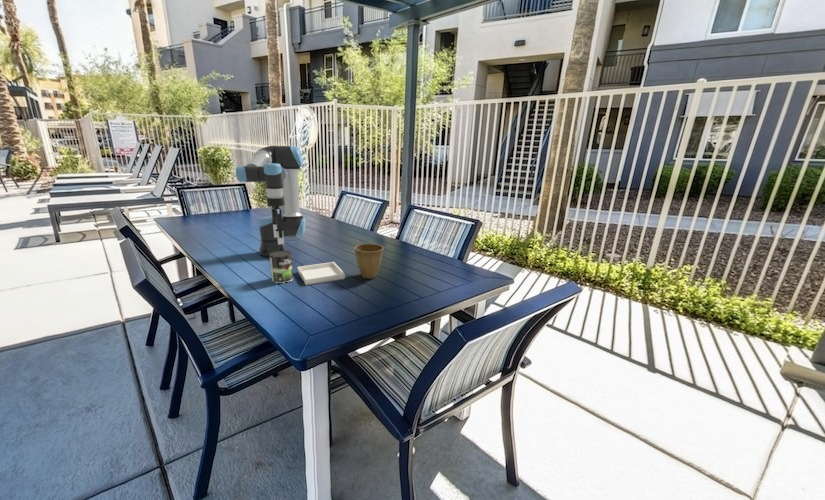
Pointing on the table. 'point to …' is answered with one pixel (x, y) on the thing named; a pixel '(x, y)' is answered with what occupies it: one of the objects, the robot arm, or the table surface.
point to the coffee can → (281, 266)
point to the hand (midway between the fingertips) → (279, 240)
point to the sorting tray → (320, 273)
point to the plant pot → (368, 259)
